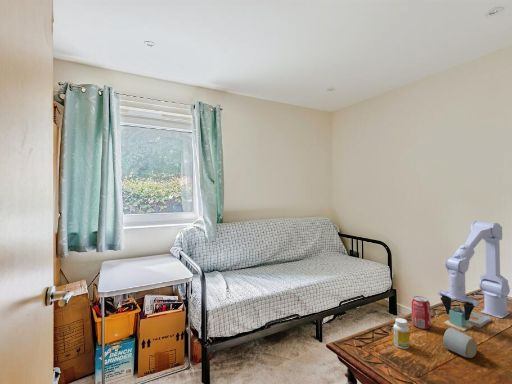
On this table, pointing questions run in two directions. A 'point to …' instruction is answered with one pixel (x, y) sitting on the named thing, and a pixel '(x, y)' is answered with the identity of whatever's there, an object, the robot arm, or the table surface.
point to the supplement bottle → (401, 333)
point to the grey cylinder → (460, 343)
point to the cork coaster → (458, 326)
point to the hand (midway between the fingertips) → (457, 316)
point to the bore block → (481, 321)
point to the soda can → (421, 312)
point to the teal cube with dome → (457, 317)
